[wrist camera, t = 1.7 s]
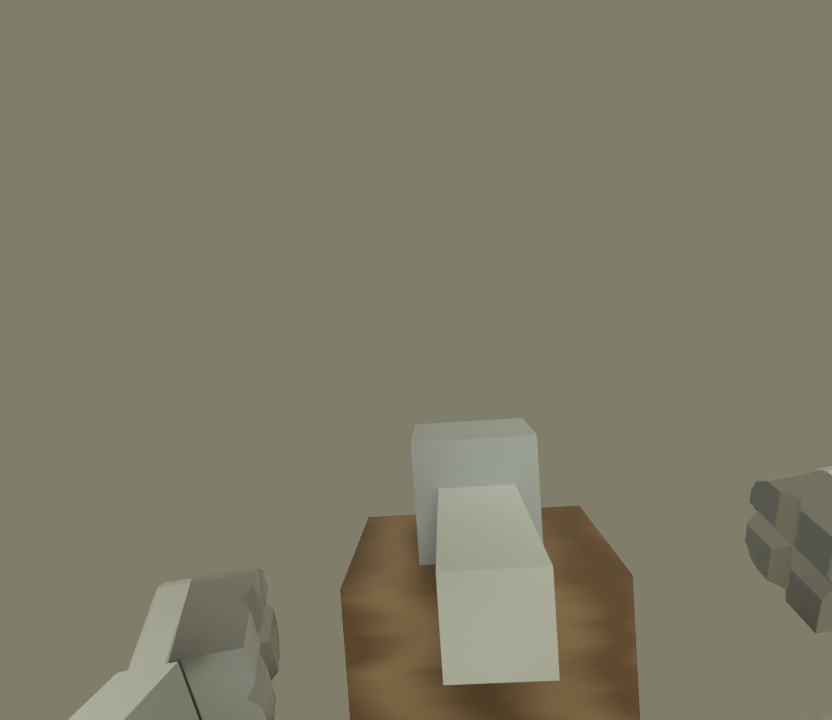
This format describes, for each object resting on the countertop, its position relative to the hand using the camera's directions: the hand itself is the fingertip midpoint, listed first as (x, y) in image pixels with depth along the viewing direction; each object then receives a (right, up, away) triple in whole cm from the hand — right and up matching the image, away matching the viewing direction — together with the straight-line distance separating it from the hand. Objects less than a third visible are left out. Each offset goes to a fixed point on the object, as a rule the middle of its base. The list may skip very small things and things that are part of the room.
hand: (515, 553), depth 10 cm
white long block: (+2, -8, +20) cm, 22 cm away
